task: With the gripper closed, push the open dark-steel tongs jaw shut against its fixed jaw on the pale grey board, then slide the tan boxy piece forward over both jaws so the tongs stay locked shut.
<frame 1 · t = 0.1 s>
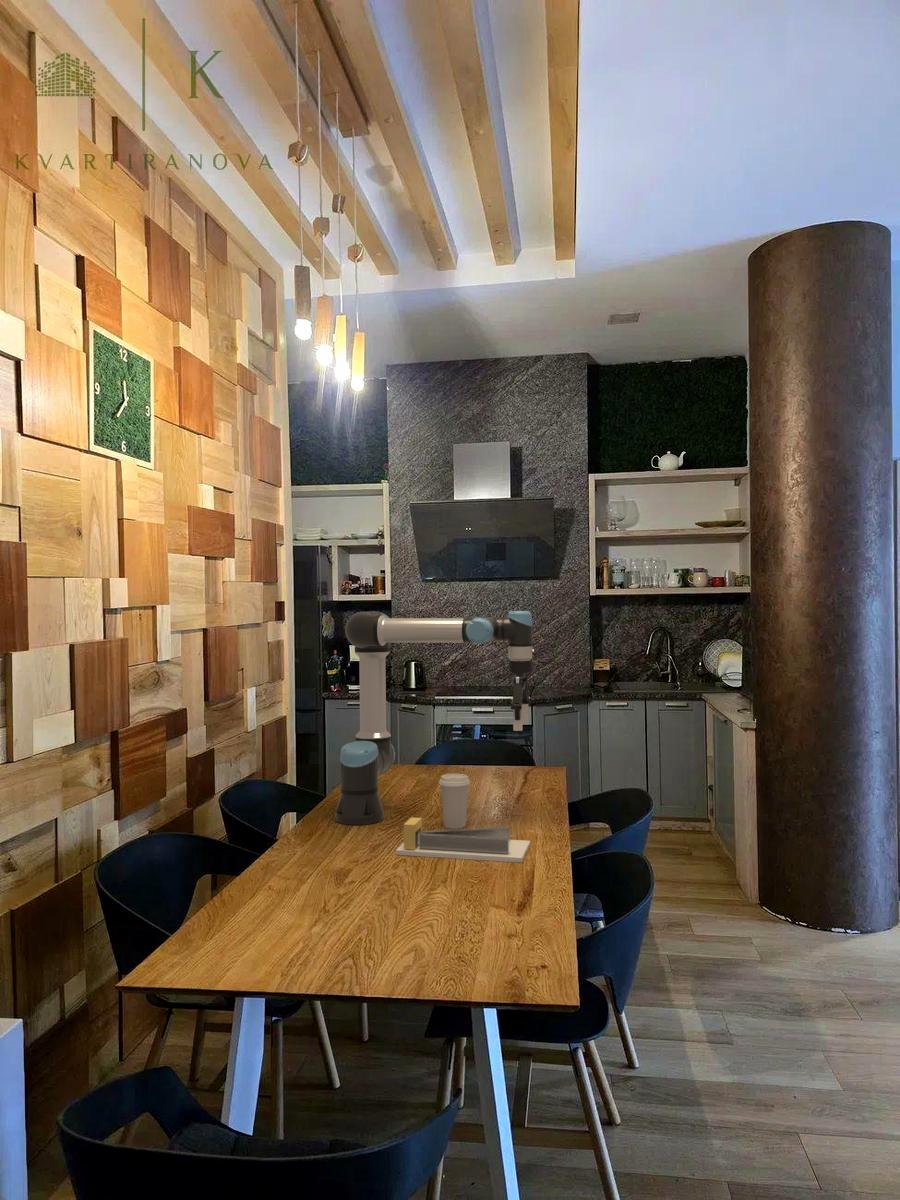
hand: (521, 727, 264), 28 cm above the table, fingers open, 13 cm apart
board: (464, 849, 228), on the table
tongs jaw: (466, 835, 230), point 3 cm above the table, hinge at 22.0°
tan boxy piece: (413, 833, 228), point 5 cm above the table, slide at 0.0 cm
coffee cup: (454, 826, 253), on the table
tongs fixed: (422, 850, 228), resting on board
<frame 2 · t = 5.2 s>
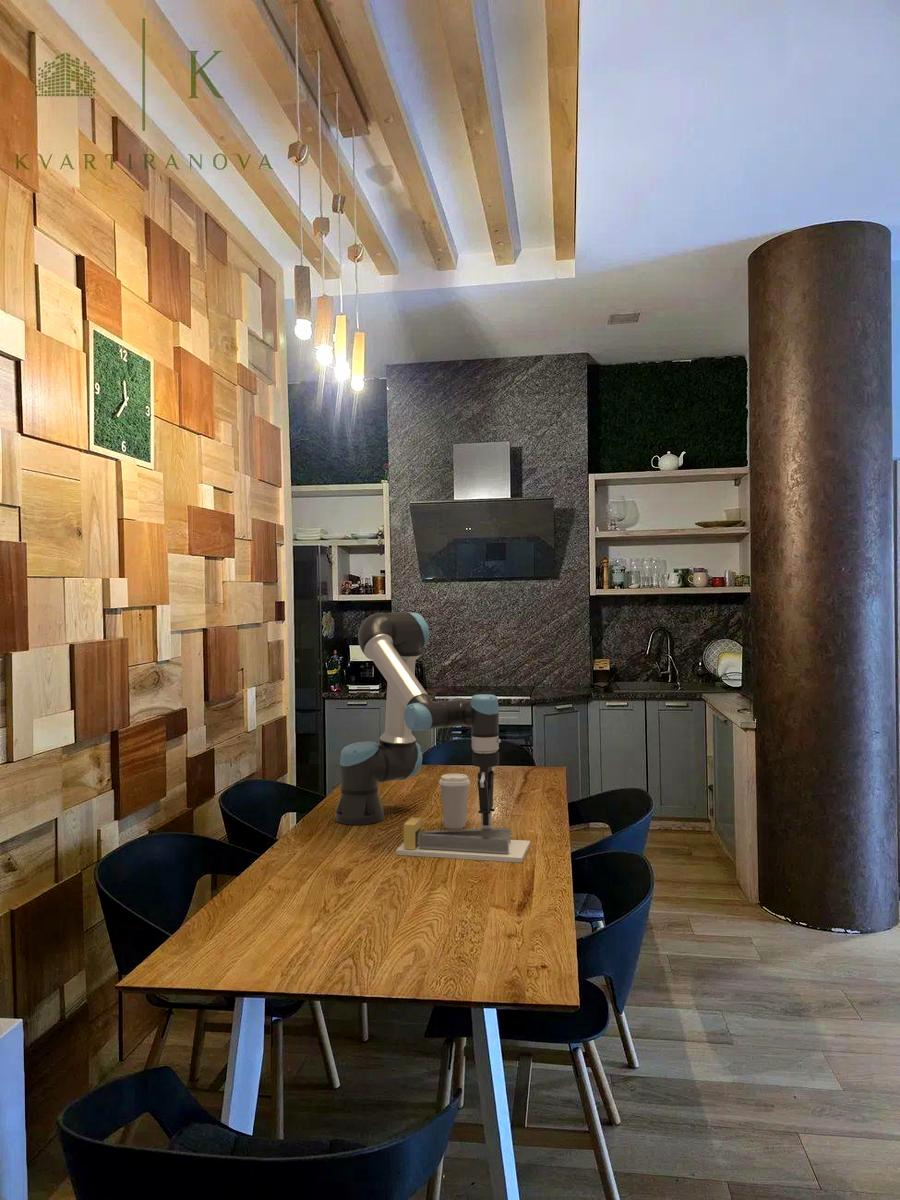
hand: (486, 835, 232), 3 cm above the table, fingers closed
tongs jaw: (466, 836, 230), point 3 cm above the table, hinge at 18.7°, touching gripper
everything else where it was.
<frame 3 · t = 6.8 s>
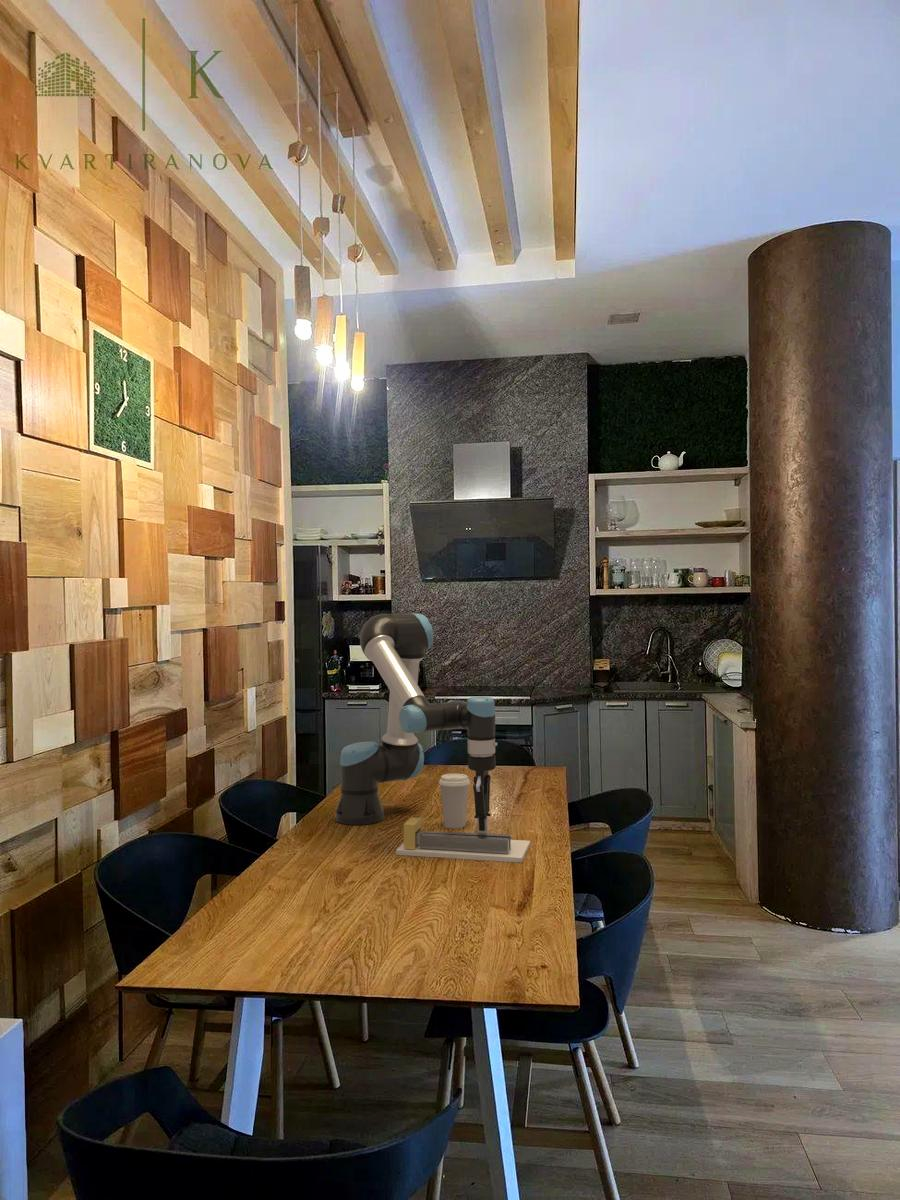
hand: (482, 841, 227), 3 cm above the table, fingers closed
tongs jaw: (466, 840, 226), point 3 cm above the table, hinge at 2.4°, touching gripper
everything else where it was.
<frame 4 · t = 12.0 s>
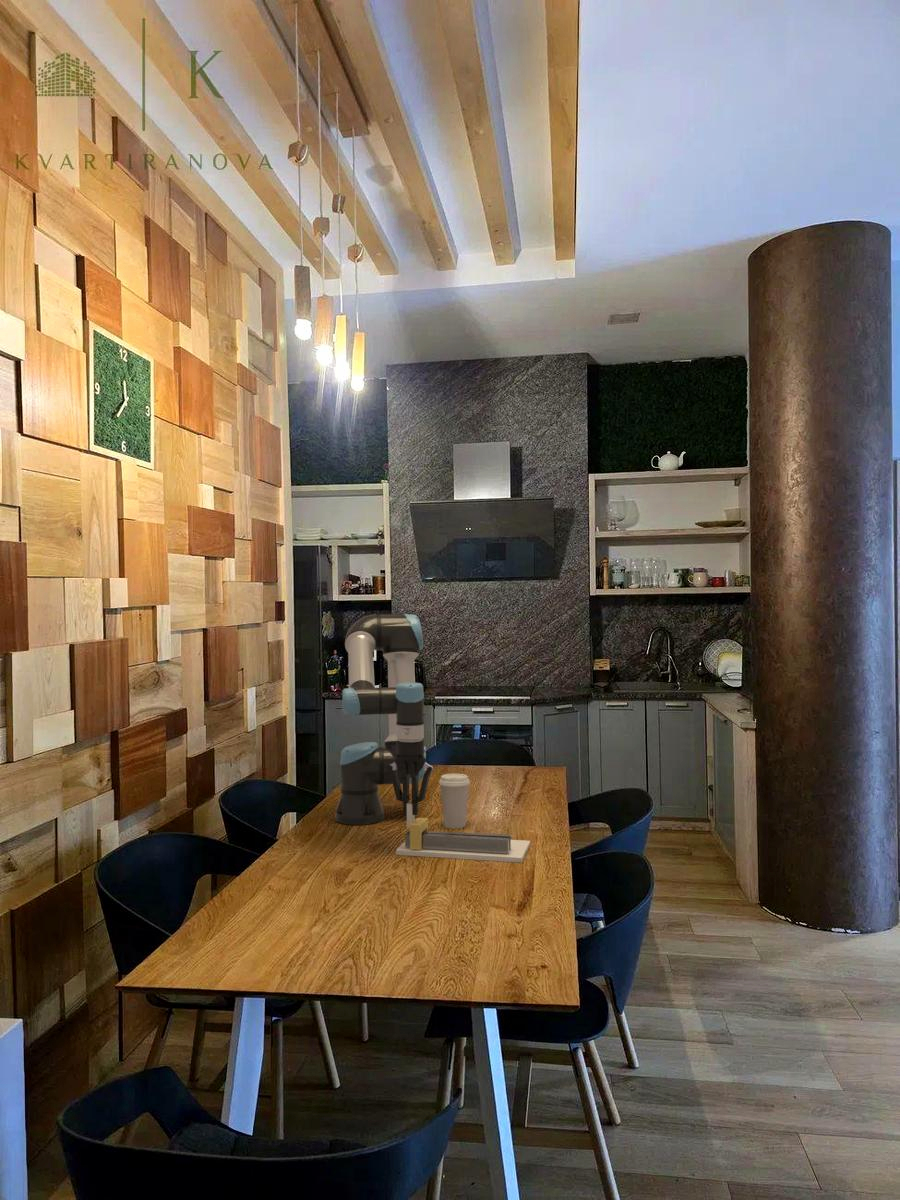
hand: (410, 826, 228), 7 cm above the table, fingers closed
tongs jaw: (466, 840, 226), point 3 cm above the table, hinge at 2.4°
tan boxy piece: (419, 833, 228), point 5 cm above the table, slide at 1.7 cm, touching gripper
everything else where it was.
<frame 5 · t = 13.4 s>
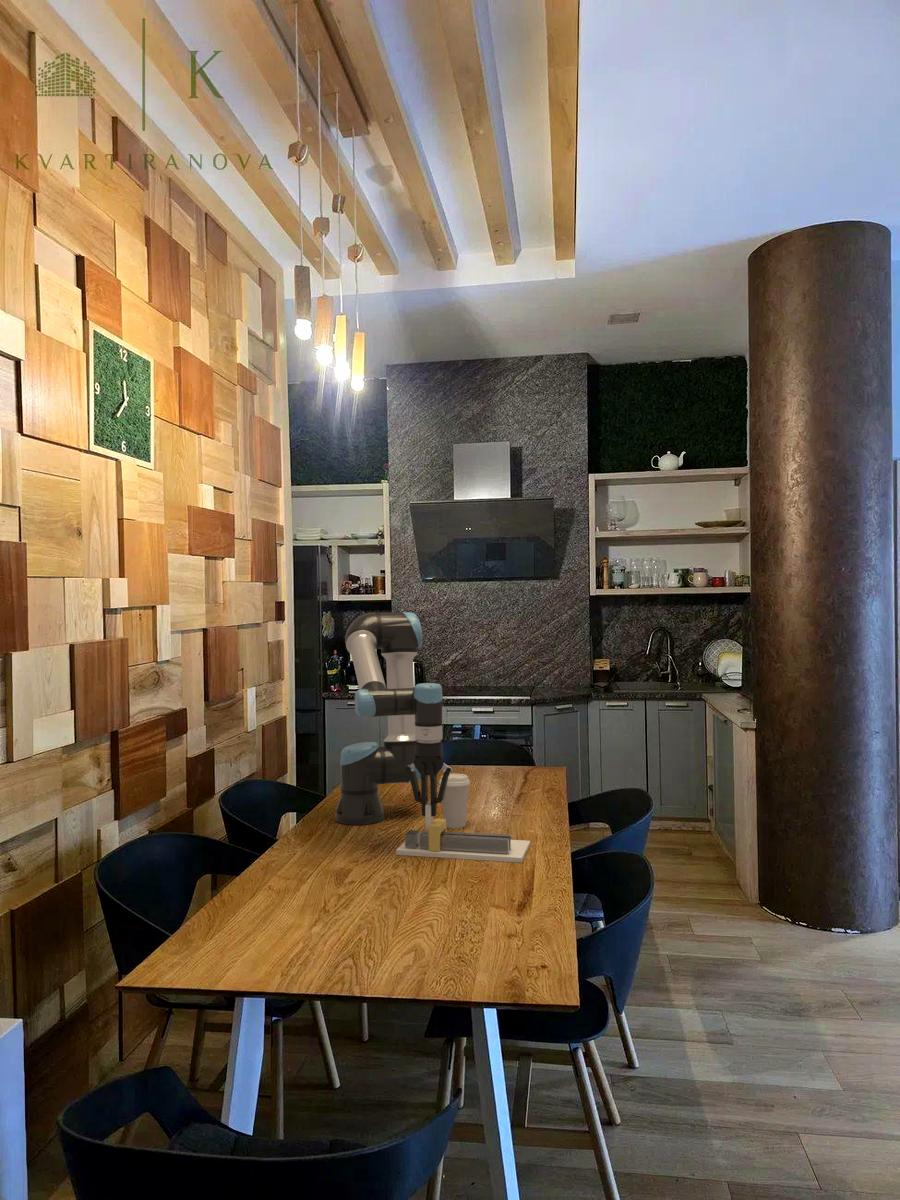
hand: (429, 827, 227), 6 cm above the table, fingers closed
tan boxy piece: (437, 834, 227), point 5 cm above the table, slide at 6.9 cm, touching gripper
everything else where it was.
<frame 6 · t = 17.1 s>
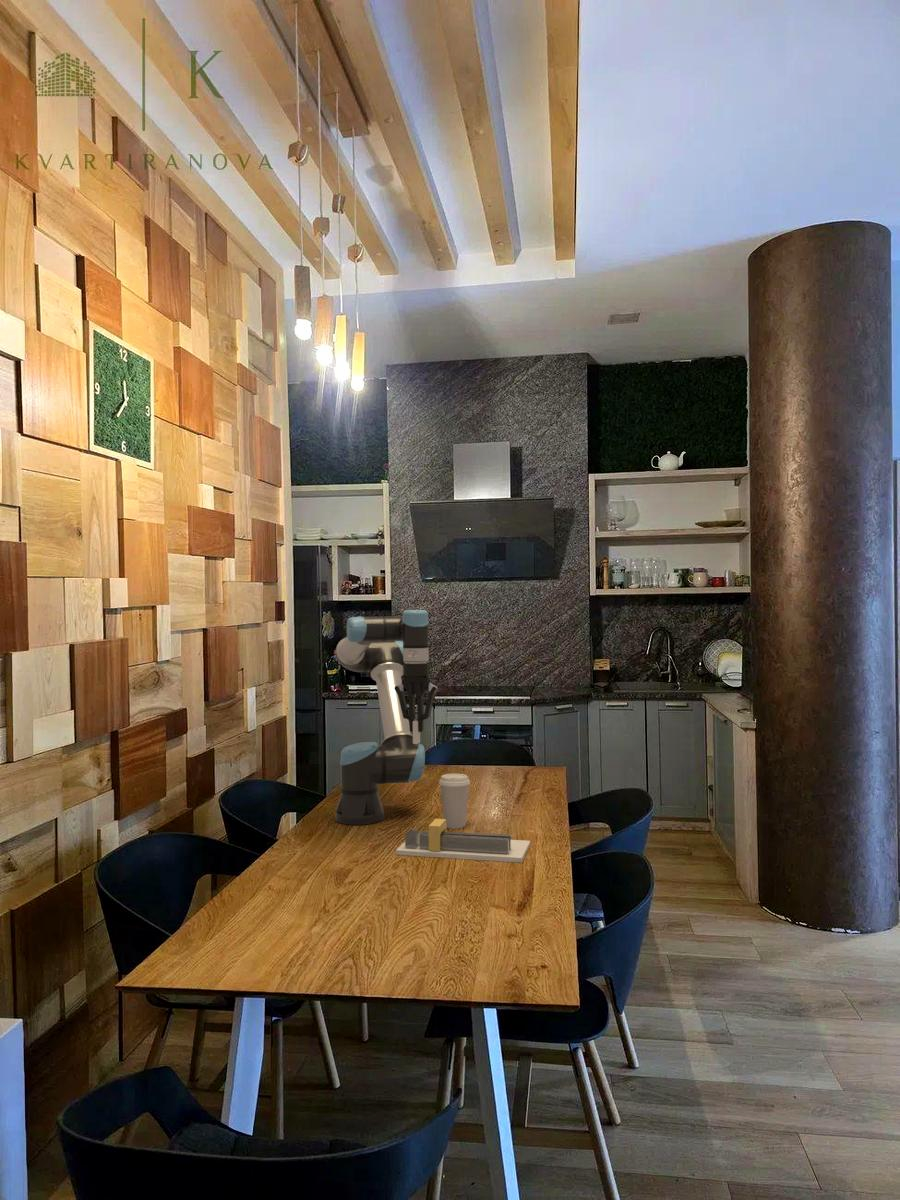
hand: (416, 742, 245), 26 cm above the table, fingers closed
tan boxy piece: (437, 834, 227), point 5 cm above the table, slide at 6.9 cm
everything else where it was.
at the end: tongs jaw at +2° (first picture: +22°); tan boxy piece slide at 6.9 cm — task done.
